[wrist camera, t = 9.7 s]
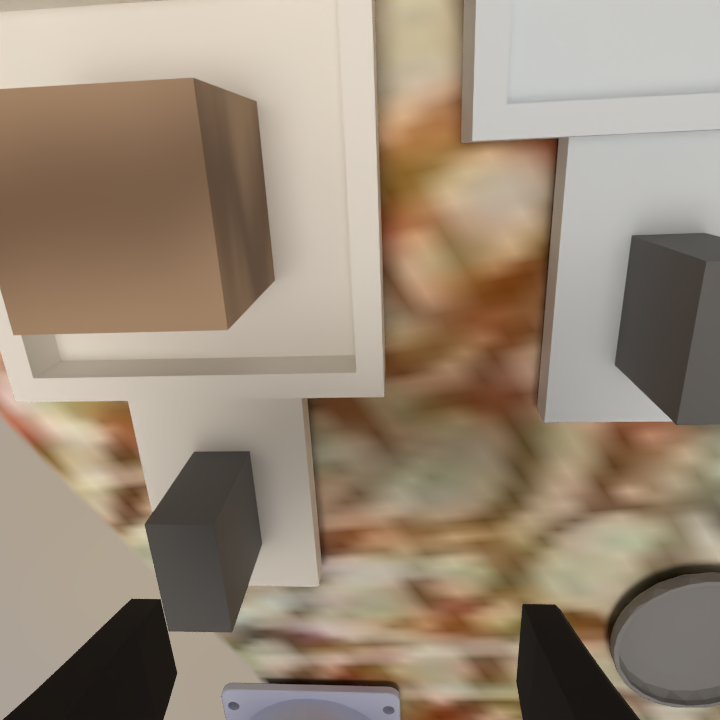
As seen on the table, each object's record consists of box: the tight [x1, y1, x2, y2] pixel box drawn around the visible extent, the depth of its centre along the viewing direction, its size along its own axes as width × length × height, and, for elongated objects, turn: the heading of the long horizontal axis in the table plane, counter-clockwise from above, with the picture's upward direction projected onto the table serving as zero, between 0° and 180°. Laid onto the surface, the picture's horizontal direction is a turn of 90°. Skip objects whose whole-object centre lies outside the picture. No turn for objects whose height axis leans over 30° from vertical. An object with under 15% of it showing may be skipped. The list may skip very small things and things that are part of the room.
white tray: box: [0, 0, 386, 632], centre depth 16 cm, size 20×12×5 cm, turn 3°
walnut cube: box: [0, 78, 275, 335], centre depth 14 cm, size 5×5×5 cm
